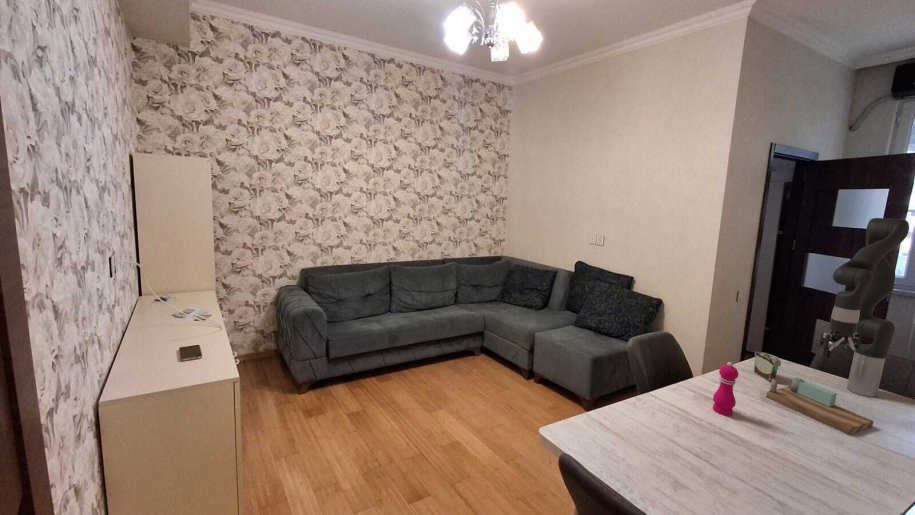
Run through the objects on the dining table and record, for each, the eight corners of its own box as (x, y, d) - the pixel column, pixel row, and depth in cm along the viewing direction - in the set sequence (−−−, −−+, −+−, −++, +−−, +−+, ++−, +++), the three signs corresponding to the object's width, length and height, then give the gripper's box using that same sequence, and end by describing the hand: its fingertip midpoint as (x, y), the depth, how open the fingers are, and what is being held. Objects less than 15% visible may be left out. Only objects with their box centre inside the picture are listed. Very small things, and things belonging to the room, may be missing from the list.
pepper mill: (726, 407, 155) (734, 358, 152) (737, 417, 148) (746, 367, 145) (707, 405, 156) (715, 357, 152) (717, 415, 149) (725, 365, 145)
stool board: (788, 391, 169) (792, 375, 168) (872, 427, 145) (876, 408, 143) (766, 397, 164) (769, 380, 163) (848, 434, 139) (852, 415, 138)
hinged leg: (787, 389, 165) (790, 378, 165) (793, 388, 167) (796, 377, 166) (828, 406, 153) (831, 394, 152) (834, 405, 154) (837, 393, 153)
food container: (785, 384, 177) (789, 362, 175) (771, 383, 177) (775, 362, 175) (764, 371, 189) (768, 351, 187) (751, 370, 189) (754, 351, 187)
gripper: (852, 315, 156) (844, 354, 159) (817, 315, 155) (810, 354, 158) (872, 322, 149) (864, 362, 152) (836, 322, 148) (829, 362, 151)
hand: (836, 358), depth 155 cm, fingers open, 8 cm apart
